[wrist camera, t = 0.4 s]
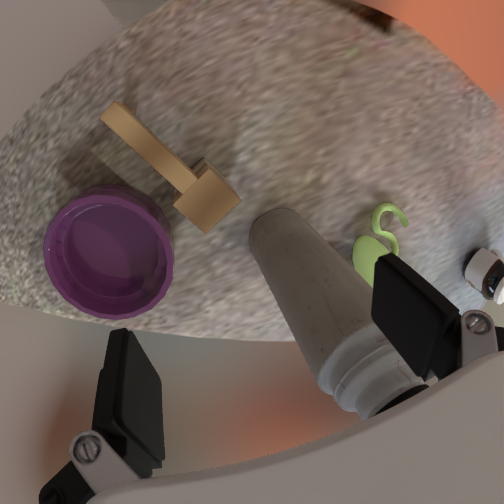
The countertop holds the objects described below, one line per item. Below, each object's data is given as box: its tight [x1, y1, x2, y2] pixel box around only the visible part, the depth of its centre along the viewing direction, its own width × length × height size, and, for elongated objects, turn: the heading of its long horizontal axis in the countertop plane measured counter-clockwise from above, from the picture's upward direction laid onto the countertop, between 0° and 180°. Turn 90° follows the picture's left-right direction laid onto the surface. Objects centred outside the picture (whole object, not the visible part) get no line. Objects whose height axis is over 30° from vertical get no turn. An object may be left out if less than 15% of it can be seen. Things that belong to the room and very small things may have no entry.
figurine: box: [352, 203, 409, 288], centre depth 44 cm, size 18×27×6 cm
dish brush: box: [100, 101, 241, 234], centre depth 28 cm, size 15×5×7 cm, turn 42°
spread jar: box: [463, 248, 504, 304], centre depth 48 cm, size 12×11×12 cm
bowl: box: [43, 184, 174, 320], centre depth 32 cm, size 16×16×5 cm
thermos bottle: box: [249, 208, 429, 421], centre depth 27 cm, size 8×8×28 cm
